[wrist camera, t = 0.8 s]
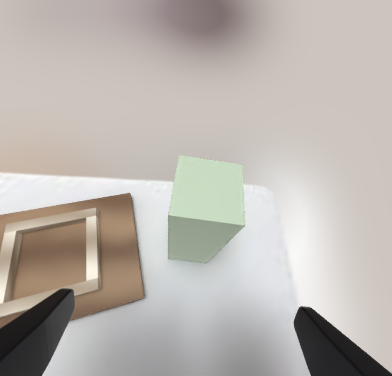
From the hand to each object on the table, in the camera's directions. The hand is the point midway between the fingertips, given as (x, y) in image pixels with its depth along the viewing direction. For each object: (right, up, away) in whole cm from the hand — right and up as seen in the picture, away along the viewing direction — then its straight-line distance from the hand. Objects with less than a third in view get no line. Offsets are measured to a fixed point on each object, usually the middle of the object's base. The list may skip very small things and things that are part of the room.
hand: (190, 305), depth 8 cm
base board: (-14, -3, +13) cm, 20 cm away
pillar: (-1, -2, +16) cm, 16 cm away
